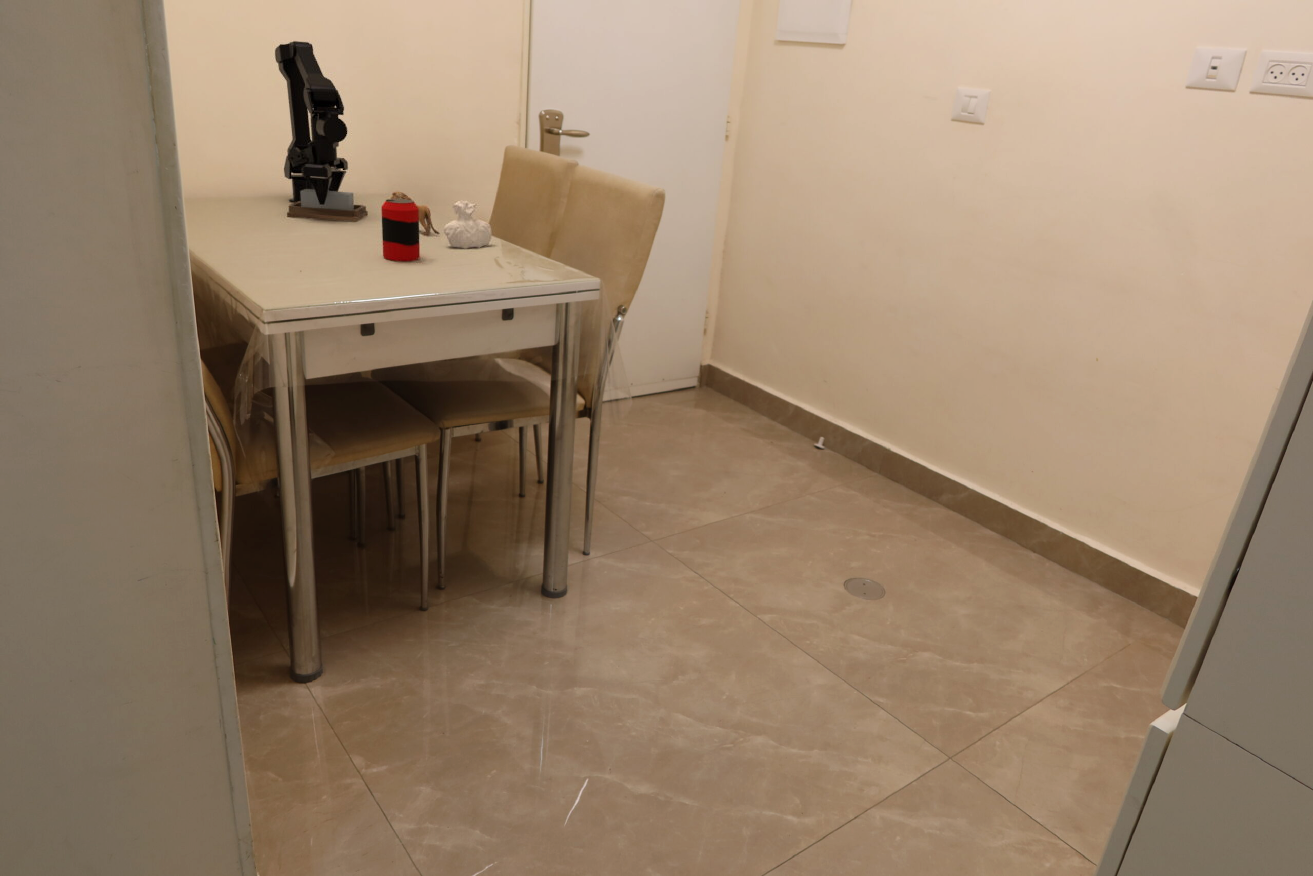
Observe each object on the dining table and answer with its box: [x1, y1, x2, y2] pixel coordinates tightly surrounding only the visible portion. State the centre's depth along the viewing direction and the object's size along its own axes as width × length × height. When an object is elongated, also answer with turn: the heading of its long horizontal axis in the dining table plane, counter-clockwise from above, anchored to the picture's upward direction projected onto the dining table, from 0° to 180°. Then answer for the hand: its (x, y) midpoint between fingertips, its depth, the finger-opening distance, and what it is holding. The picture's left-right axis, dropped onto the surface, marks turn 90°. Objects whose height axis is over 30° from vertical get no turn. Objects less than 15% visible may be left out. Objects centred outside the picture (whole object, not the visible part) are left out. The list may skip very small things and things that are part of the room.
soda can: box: [380, 198, 421, 262], centre depth 192 cm, size 8×8×12 cm
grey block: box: [300, 189, 355, 211], centre depth 231 cm, size 4×12×5 cm, turn 92°
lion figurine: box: [390, 190, 440, 236], centre depth 221 cm, size 15×5×9 cm, turn 63°
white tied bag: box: [443, 199, 492, 250], centre depth 210 cm, size 12×8×11 cm
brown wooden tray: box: [286, 201, 368, 223], centre depth 232 cm, size 11×17×2 cm, turn 92°
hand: (327, 201), depth 231 cm, fingers open, 9 cm apart
